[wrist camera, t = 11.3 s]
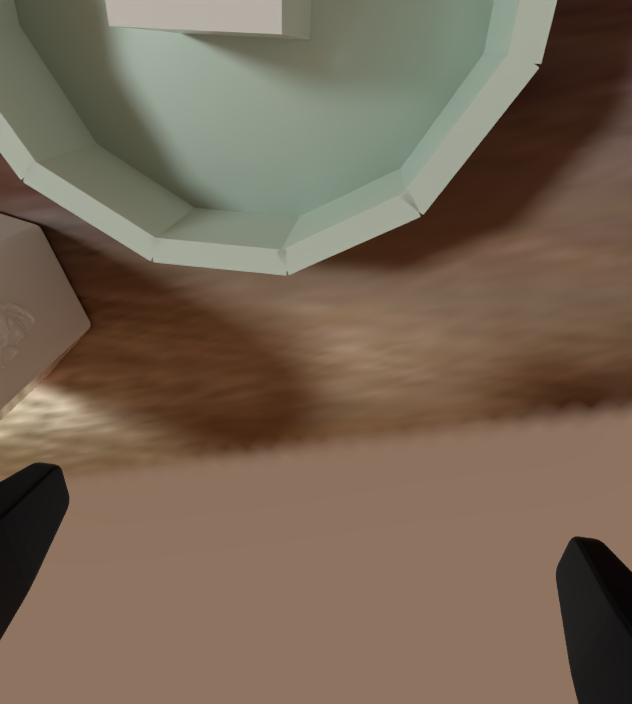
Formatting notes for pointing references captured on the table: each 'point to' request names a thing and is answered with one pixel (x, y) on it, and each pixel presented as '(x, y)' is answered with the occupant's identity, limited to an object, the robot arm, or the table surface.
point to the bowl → (258, 122)
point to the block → (215, 17)
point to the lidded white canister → (32, 311)
